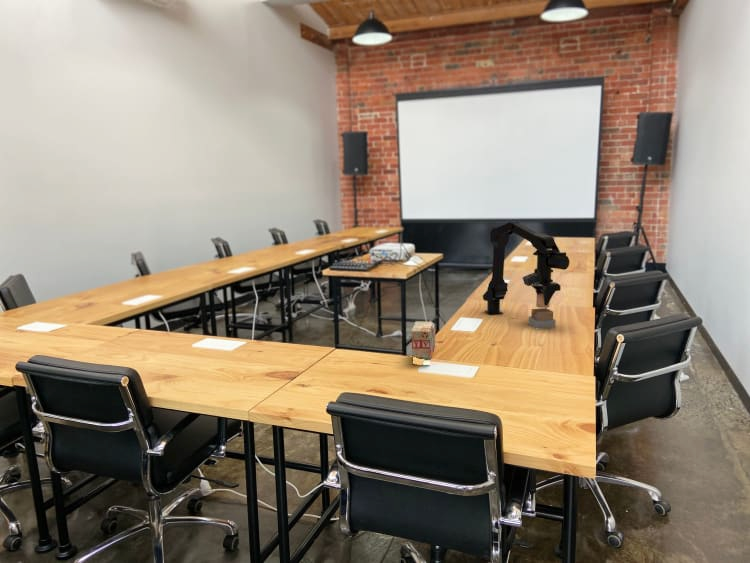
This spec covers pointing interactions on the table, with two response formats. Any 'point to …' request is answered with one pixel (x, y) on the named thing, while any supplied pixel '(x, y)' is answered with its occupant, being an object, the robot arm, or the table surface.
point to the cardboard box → (423, 340)
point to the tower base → (542, 323)
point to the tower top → (542, 314)
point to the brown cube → (541, 301)
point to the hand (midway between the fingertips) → (543, 303)
